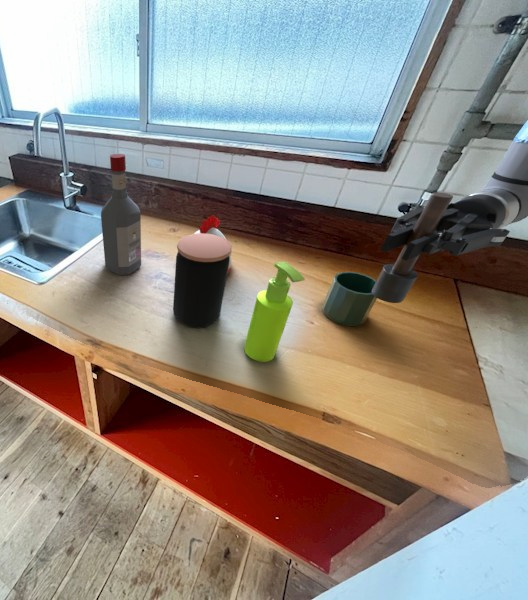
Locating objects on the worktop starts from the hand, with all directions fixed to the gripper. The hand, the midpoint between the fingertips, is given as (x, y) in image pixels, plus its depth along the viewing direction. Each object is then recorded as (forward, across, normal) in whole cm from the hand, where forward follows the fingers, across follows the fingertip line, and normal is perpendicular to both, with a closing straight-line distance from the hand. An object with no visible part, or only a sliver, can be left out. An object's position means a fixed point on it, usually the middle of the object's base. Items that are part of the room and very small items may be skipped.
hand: (397, 247), depth 49 cm
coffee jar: (+17, +24, -24) cm, 38 cm away
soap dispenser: (+13, +8, -24) cm, 28 cm away
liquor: (+22, +52, -24) cm, 61 cm away
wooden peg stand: (-6, 0, -11) cm, 12 cm away
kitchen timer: (+2, +40, -24) cm, 47 cm away
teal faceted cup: (-12, +8, -24) cm, 28 cm away
